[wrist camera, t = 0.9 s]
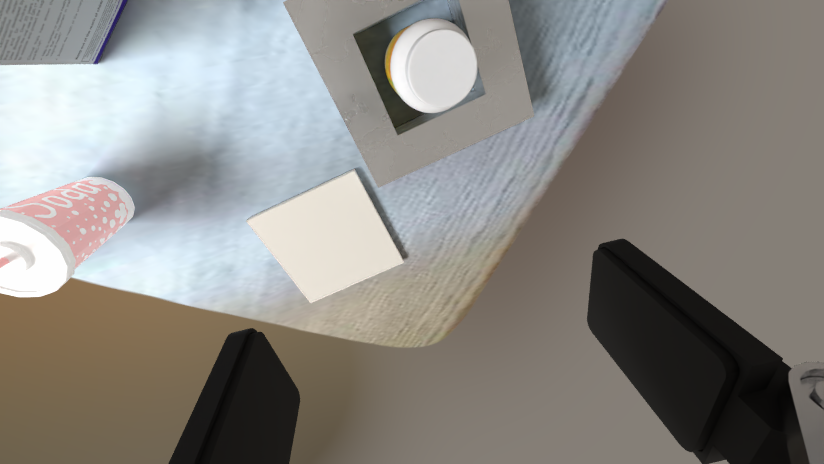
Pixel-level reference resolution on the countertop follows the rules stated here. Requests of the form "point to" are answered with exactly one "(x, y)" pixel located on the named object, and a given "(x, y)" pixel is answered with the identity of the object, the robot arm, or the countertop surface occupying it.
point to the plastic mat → (328, 237)
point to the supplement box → (56, 30)
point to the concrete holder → (431, 132)
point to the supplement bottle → (431, 65)
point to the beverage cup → (58, 233)
